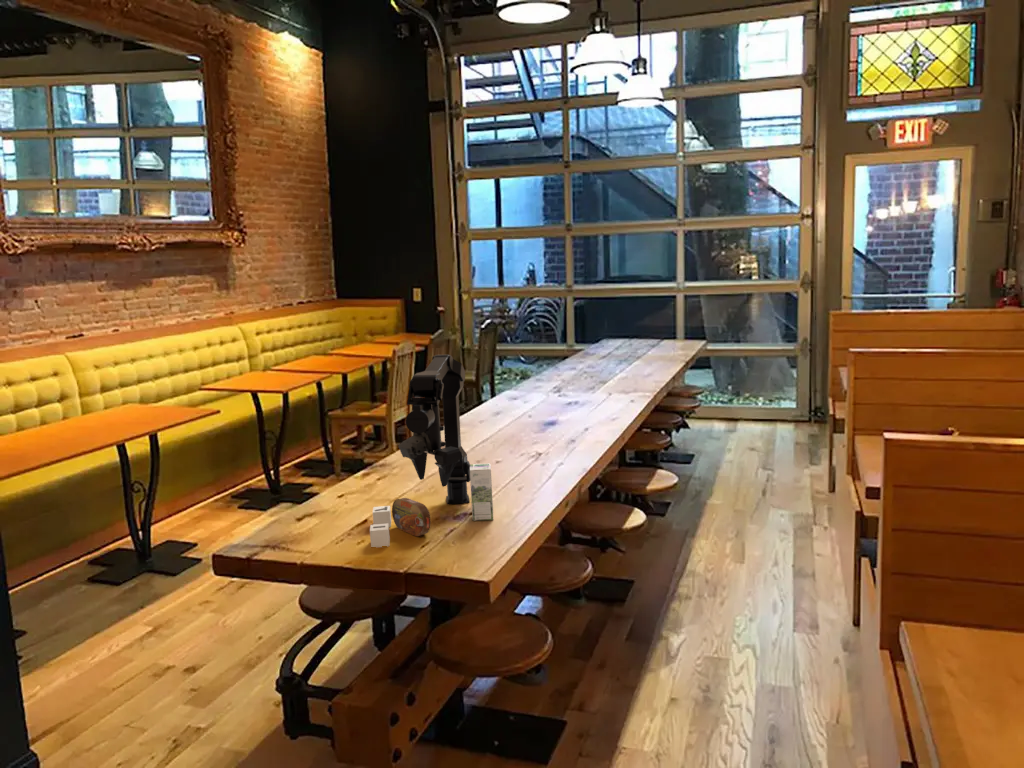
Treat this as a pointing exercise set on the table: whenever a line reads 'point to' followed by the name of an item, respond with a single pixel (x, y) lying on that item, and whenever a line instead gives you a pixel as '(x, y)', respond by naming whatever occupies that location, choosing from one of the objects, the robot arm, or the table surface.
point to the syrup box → (481, 492)
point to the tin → (411, 516)
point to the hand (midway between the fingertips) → (432, 482)
